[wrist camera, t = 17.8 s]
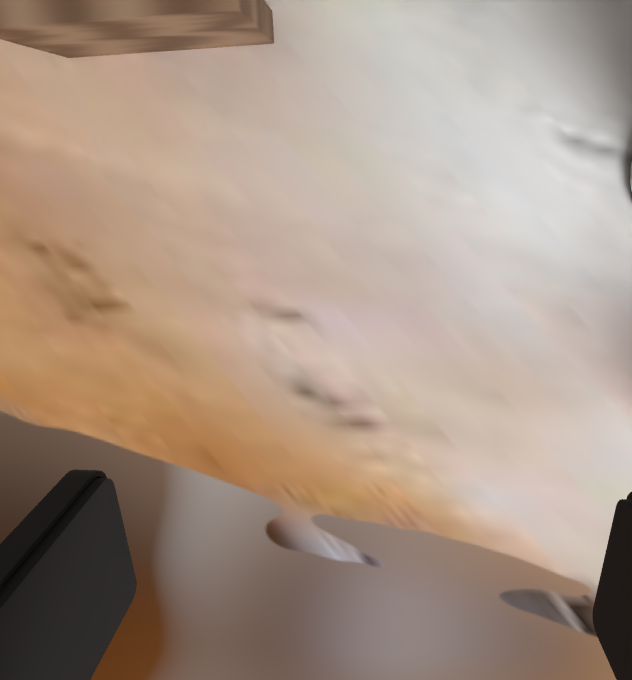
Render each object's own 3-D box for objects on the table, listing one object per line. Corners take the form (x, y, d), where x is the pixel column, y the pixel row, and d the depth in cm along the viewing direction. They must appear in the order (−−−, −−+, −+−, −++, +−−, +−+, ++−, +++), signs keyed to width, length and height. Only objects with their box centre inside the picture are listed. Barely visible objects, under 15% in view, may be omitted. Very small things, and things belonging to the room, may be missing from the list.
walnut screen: (272, 11, 35) (234, -37, 26) (273, 43, 36) (238, 8, 27) (62, 27, 37) (-43, -11, 28) (68, 57, 38) (-32, 30, 28)
